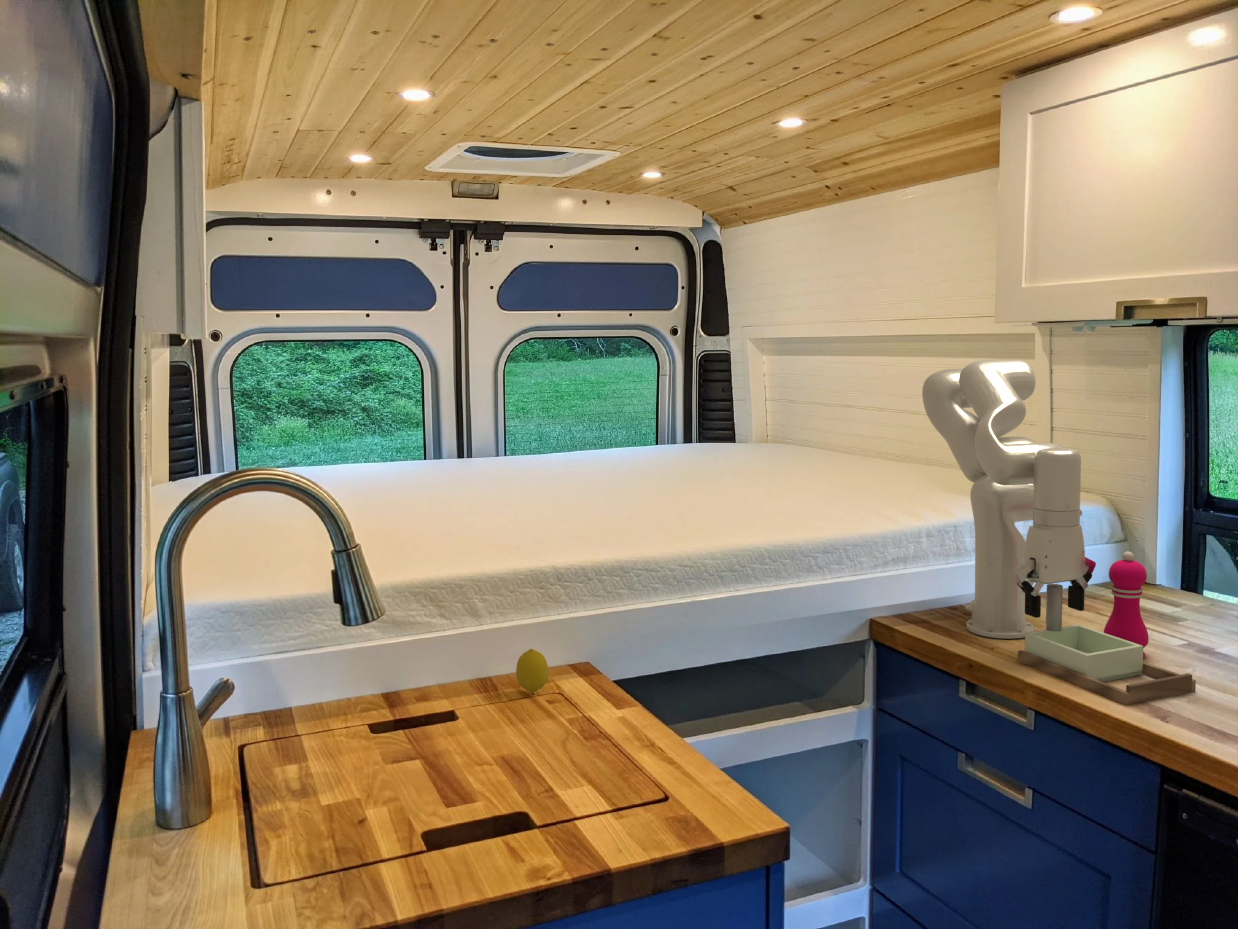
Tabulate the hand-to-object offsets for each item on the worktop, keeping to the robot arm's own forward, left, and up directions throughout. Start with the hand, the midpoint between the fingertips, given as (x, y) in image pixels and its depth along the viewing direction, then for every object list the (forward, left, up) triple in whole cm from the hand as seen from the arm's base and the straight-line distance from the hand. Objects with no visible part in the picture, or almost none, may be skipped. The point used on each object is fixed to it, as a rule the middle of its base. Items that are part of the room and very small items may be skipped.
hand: (1054, 612), depth 173 cm
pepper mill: (+4, +12, -10) cm, 16 cm away
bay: (+11, 0, -9) cm, 14 cm away
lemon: (-25, -90, -10) cm, 94 cm away
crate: (+7, 0, -8) cm, 10 cm away
